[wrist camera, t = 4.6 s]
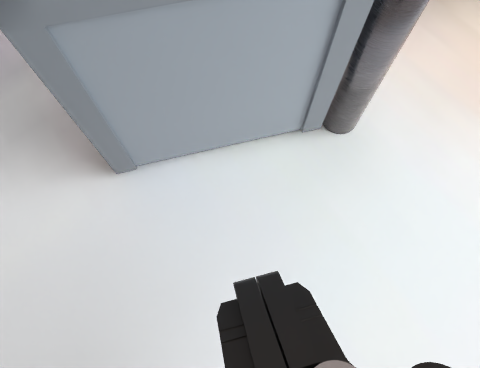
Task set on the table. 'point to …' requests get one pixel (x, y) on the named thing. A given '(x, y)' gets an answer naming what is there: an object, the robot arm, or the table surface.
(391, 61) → the hinge post
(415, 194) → the table surface
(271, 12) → the gate
